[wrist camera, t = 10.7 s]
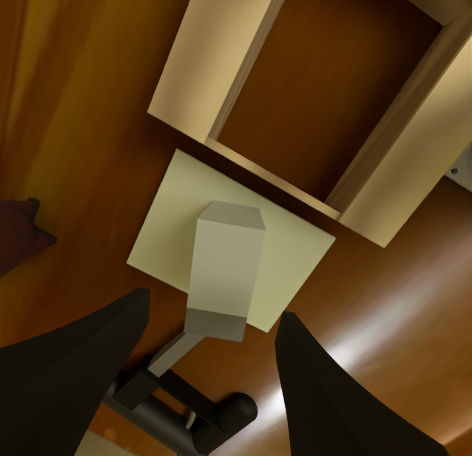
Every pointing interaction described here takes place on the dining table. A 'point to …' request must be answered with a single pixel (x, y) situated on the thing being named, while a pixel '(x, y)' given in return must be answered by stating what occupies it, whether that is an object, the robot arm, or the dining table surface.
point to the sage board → (184, 231)
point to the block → (224, 270)
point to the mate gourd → (20, 233)
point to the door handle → (166, 420)
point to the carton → (380, 140)
